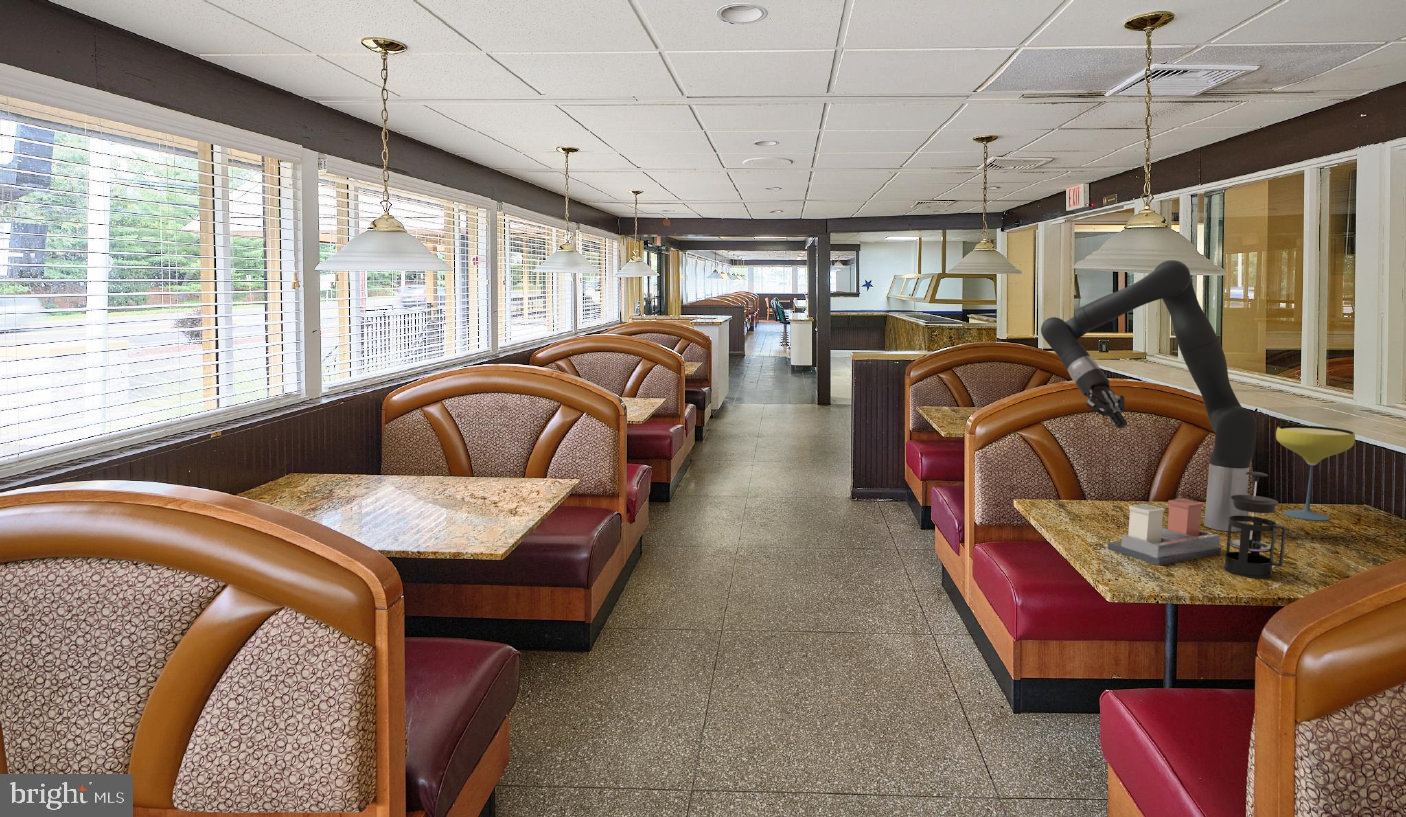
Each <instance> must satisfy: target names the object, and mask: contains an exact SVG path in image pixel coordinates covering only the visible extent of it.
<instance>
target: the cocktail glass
mask: <svg viewBox="0 0 1406 817" xmlns="http://www.w3.org/2000/svg"><path fill="white" fill-rule="evenodd" d="M1275 438H1276V441H1277V442H1278V443H1279V444H1280V445H1282V446H1283V447H1284V448H1286V449H1288V450H1290V451H1291V452H1293V453H1295V454H1297V455H1298V456H1300V457H1302V459H1303V460H1304V461H1305V463H1306V464H1308V466H1310V467H1309V476H1308V485H1307V493H1306V500H1305V501H1306V502H1305V505H1304V508H1303V509H1301V510H1300V509H1299V510H1298V509H1297V510H1295V509H1294V510H1289V509H1288V510H1285V511H1284V512H1283V514H1284V515H1285V516H1287V517H1290V518H1294V519H1298V520H1303V521H1313V522H1326V521H1329V520H1330V519H1331V517H1330V516H1328V515H1326V514H1323V513H1319V512H1314V511H1312V510H1311V489H1312V479H1313V478H1312V477H1313V470H1314V469H1313V468H1314V466H1315V465H1318V464H1319V463H1320V462H1321V461H1322V460H1324V459H1326V458H1328V457H1332V456H1335V455H1338V454H1342V453H1344V452H1346V451H1348V450H1350V449H1351V448H1352V447H1353V446H1354V444H1355V442H1356V434H1355V432H1354V431H1351V430H1347V429H1344V428H1337V427H1327V426H1317V425H1303V424H1300V425H1299V424H1296V425H1295V424H1289V425H1279V426H1277V428H1276V432H1275Z"/></svg>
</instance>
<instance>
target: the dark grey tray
mask: <svg viewBox="0 0 1406 817" xmlns="http://www.w3.org/2000/svg"><path fill="white" fill-rule="evenodd" d="M1220 539H1221V535H1220V534H1216V533H1212V532H1208V531H1204V530H1201V529H1200V534H1199V536H1196V537H1194V536H1191V535H1187V534H1183V533H1180V532H1176V531H1172V530H1169V529H1168V528H1165V527H1164V528H1163V527H1162V531H1161V543H1156V544H1155V543H1152V542H1148V541H1145V540H1142V539H1138V538H1135V537H1132V536H1128V535H1127V534H1121V540H1119V541H1112V542H1111V541H1110V542H1108V543H1107V550H1110V551H1114V552H1116V553H1119V554H1123V555H1126V556H1129V557H1132V558H1134V559H1138V560H1140V561H1144V562H1147V563H1150V564H1153V565H1156V566H1162V565H1167V564H1172V563H1178V562H1183V561H1189V560H1194V559H1195V560H1196V559H1201V558H1204V557H1210V556H1211V557H1212V556H1216V555H1221V554H1222V553H1221V552H1222V547H1220V542H1221V540H1220Z"/></svg>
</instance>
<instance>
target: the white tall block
mask: <svg viewBox="0 0 1406 817" xmlns="http://www.w3.org/2000/svg"><path fill="white" fill-rule="evenodd" d="M1165 509H1166V508H1162V507H1158V506H1155V505H1150V504H1146V503H1140V504H1135V505H1134V504H1133V505H1128V510H1129V519H1128V520H1129V521H1128V522H1129V523H1128V533H1127V534H1128V536H1132V537H1135V538H1138V539H1142V540H1145V541H1148V542H1152V543H1155V544H1156V543H1161V531H1162V528H1163V519H1164V518H1163V516H1164V513H1165Z"/></svg>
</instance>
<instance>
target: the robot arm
mask: <svg viewBox="0 0 1406 817" xmlns="http://www.w3.org/2000/svg"><path fill="white" fill-rule="evenodd" d="M1161 299H1162V301H1163V303H1164V304H1165V306H1166V309H1167V311H1168V313H1169V316H1170V320H1171V323H1172V328H1173V332H1174V335H1175V338H1176V342H1177V346H1178V348H1179V351H1180V354H1181V355H1182V358H1183V361H1184V363H1185V366H1187V367H1186V368H1187V369H1188V371H1189V374H1190V375H1191V377H1192V379H1193V381H1194V383H1195V385H1196V386H1197V389H1198V390H1199V393H1200V394H1201V398H1202V400H1203V403H1204V407H1205V409H1206V413H1207V418H1208V420H1209V424H1210V427H1211V429H1212V431H1213V432H1214V433H1215V438H1214V445H1213V449H1212V452H1211V453H1210V455H1209V464H1208V478H1207V486H1206V487H1207V488H1206V501H1205V512H1204V513H1205V514H1204V523H1203V525H1204V526H1205V527H1207V528H1209V529H1212V530H1217V531H1224V532H1228V525H1229V517H1231V516H1238V515H1241V516H1249V512H1247V511H1242V510H1238V509H1236V508H1235V506H1234V503H1233V500H1232V499H1231V496H1234V495H1250V494H1249V493H1248V488H1249V480H1250V479H1249V477H1250V475H1247V474H1246V473H1247V472H1250V466H1251V461H1252V459H1253V456H1254V453H1255V445H1256V438H1257V429H1258V428H1257V426H1258V425H1257V419H1256V416H1254V414H1253V413H1252V412H1251V411H1250V410H1248V409H1246V408H1244V407H1242V405H1241V403H1240V402H1239V400H1238V398H1237V396H1236V394H1235V392H1234V391H1233V388H1232V386H1231V383H1230V378H1229V373H1228V364H1227V358H1226V355H1225V352H1224V349H1223V348H1222V344H1221V342H1220V341H1219V340H1220V339H1219V337H1218V336H1217V334H1216V332H1215V330H1214V328H1213V326H1212V323H1211V322H1210V320H1209V319H1208V317H1207V315H1206V314H1205V312H1204V310H1203V308H1202V307H1201V305H1200V303H1199V300H1198V297H1197V295H1196V292H1195V289H1194V284H1193V281H1192V277H1191V271H1190V269H1189V267H1188V266H1187V264H1185V263H1184V262H1182V261H1179V260H1174V259H1173V260H1171V259H1170V260H1165V261H1163V262H1161V263H1160V264H1157V266H1156V267H1155V268H1154V270H1153V271H1152V272H1150V273H1148V274H1146V275H1145V276H1144V277H1143V278H1141V279H1140V280H1138V281H1136V282H1134V283H1132V284H1131V285H1129V286H1126V287H1124V288H1122V289H1120V290H1117V291H1115V292H1112V293H1109V294H1107V295H1104V296H1102V297H1100V298H1097V299H1094V300H1093V301H1091V302H1089V303H1087V304H1084V305H1082V306H1081V307H1079V308H1077V309H1075V311H1074V312H1073V317H1071V318H1069V319H1068V320H1067V321H1065V320H1064V319H1062V318H1060V317H1056V316H1055V317H1053V316H1051V317H1049V318H1046V319H1045V320H1044V321H1043V322H1042V324H1041V328H1040V334H1041V335H1042V338H1043V339H1044V340H1045V342H1046V343H1047V344H1048V345H1049V347H1050V348H1051V349H1052V351H1054V353H1055V354H1056V355H1057V357H1058V358H1059V359H1060V362H1061V363H1062V365H1063V367H1064V368H1065V369H1066V370H1067V372H1068V374H1069V376H1070V378H1071V380H1072V381H1073V382H1074V384H1075V385H1076V387H1077V388H1078V389H1079V391H1080V392H1081V394H1082V395H1083V397H1085V398H1088V400H1087V401H1086V402H1085V405H1086V406H1087V407H1088V408H1089V409H1092V410H1093V412H1096V413H1097V414H1099V415H1100V416H1102V417H1107V418H1108V419H1110V420H1111V421H1112V423H1113V424H1114V425H1115V427H1116V428H1118V429H1124V428H1125V427H1126V426H1128V421H1127V420H1126V419H1125V417H1124V416H1123V414H1122V413H1123V412H1124V411H1125V408H1126V406H1125V404H1126V403H1125V397H1124V395H1119V396H1118V395H1116V394H1115V392H1114V391H1113V390H1112V389H1111V388H1110V380H1109V378H1108V377H1107V375H1106V374H1105V373H1104V372H1103V370H1102V369H1101V367H1100V366H1099V365H1098V363H1097V362H1096V361H1095V360H1094V359H1093V357H1091V355H1090V353H1089V352H1088V351H1087V349H1086V348H1085V347H1084V346H1083V345H1082V344H1081V342H1079V339H1081V338H1083V337H1084V336H1085V335H1086V334H1087V333H1088V332H1090V331H1092V330H1095V329H1097V328H1099V327H1102V326H1103V325H1105V324H1108V323H1109V322H1111V321H1113V320H1116V319H1118V318H1119V317H1122V316H1123V315H1125V314H1127V313H1129V312H1131V311H1133V310H1135V309H1137V308H1140V307H1142V306H1144V305H1146V304H1149V303H1152V302H1155V301H1158V300H1161ZM1236 522H1240V523H1244V524H1248V522H1247V521H1236ZM1231 532H1232V533H1233V532H1235V533H1236V532H1241V529H1240V528H1236V527H1233V526H1232V528H1231Z"/></svg>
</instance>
